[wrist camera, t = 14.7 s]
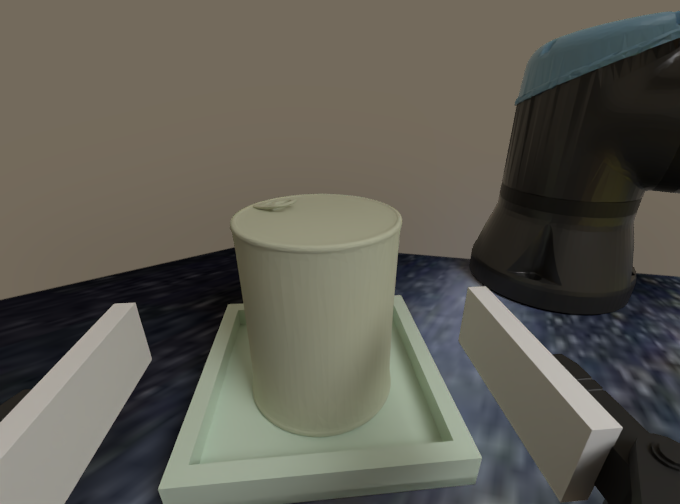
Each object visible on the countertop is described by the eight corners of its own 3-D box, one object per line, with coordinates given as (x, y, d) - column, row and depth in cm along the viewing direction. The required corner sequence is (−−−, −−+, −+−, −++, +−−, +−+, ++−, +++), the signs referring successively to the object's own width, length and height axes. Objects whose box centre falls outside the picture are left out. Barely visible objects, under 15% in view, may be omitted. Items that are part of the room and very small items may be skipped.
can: (299, 322, 28) (291, 181, 24) (406, 354, 25) (422, 195, 20) (221, 403, 21) (185, 218, 16) (359, 465, 17) (366, 251, 12)
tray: (399, 313, 31) (401, 295, 30) (475, 483, 17) (481, 458, 16) (231, 323, 29) (228, 304, 29) (167, 516, 16) (158, 489, 15)
